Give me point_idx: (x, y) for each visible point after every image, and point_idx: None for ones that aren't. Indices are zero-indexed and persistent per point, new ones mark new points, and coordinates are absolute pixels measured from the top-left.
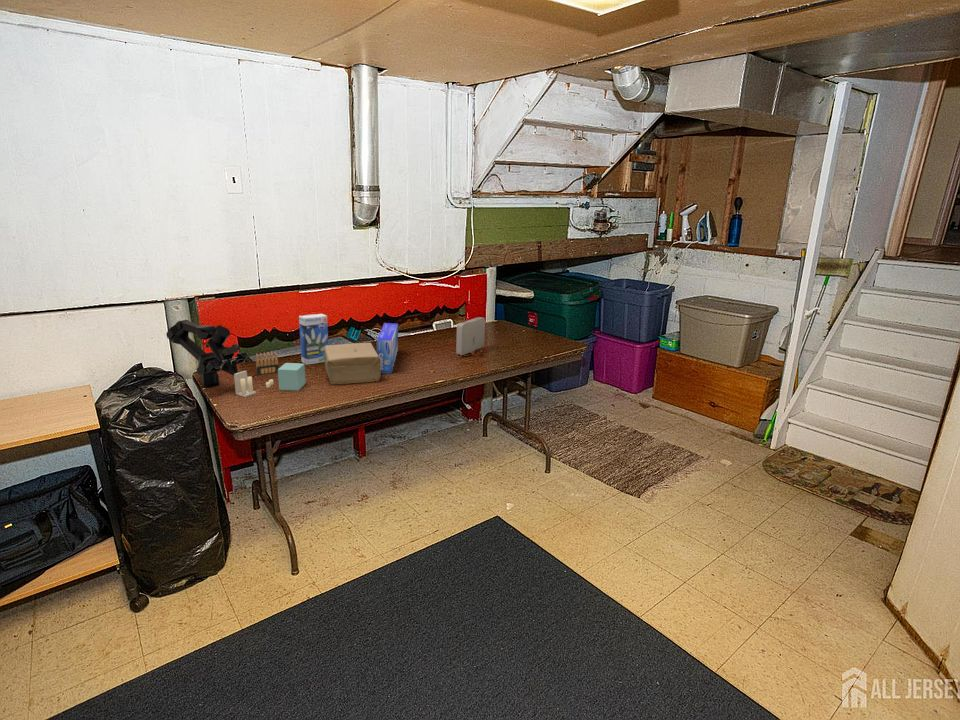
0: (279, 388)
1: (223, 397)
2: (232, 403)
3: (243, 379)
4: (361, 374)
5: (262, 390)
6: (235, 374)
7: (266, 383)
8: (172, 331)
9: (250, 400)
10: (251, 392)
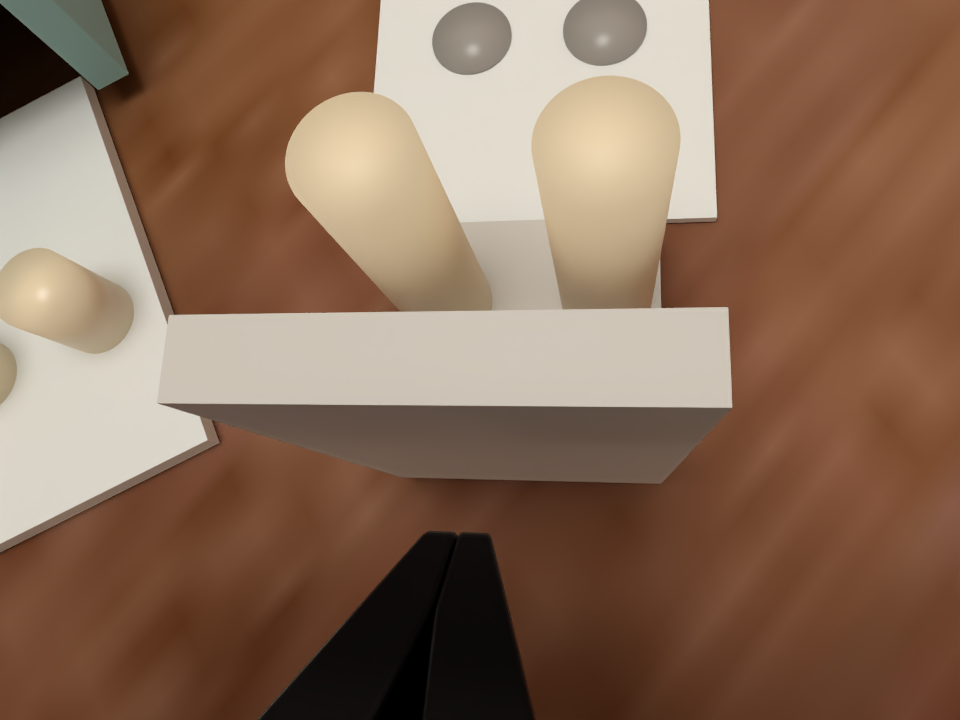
0: (112, 57)
1: (854, 649)
2: (938, 241)
3: (607, 103)
4: None
5: None
6: (718, 312)
7: (74, 283)
8: None
9: None
10: (478, 250)
